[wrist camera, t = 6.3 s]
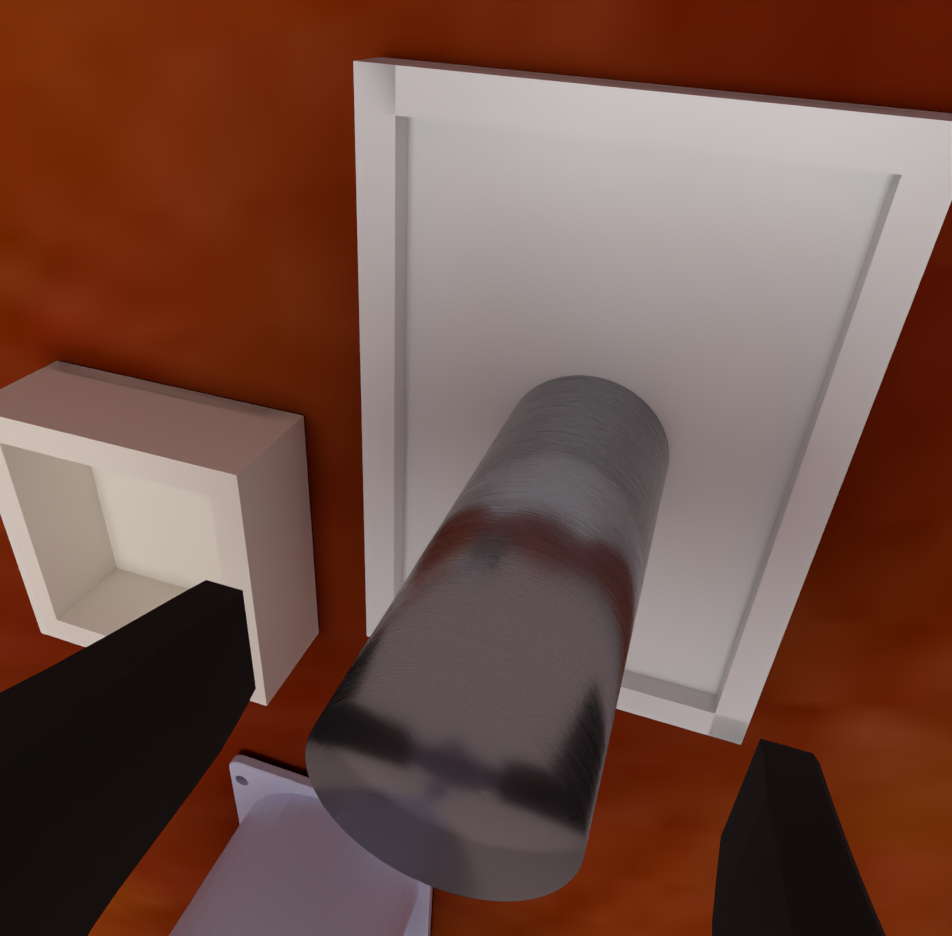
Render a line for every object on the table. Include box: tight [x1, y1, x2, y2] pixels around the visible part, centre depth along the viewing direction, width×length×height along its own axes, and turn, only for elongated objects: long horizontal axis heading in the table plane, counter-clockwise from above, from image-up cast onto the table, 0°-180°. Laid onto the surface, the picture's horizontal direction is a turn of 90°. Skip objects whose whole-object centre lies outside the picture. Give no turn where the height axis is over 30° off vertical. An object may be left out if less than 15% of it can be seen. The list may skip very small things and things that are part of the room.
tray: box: [353, 57, 952, 745], centre depth 16 cm, size 14×10×1 cm
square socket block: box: [0, 361, 319, 706], centre depth 21 cm, size 8×8×3 cm
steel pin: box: [305, 375, 669, 902], centre depth 13 cm, size 4×4×9 cm
